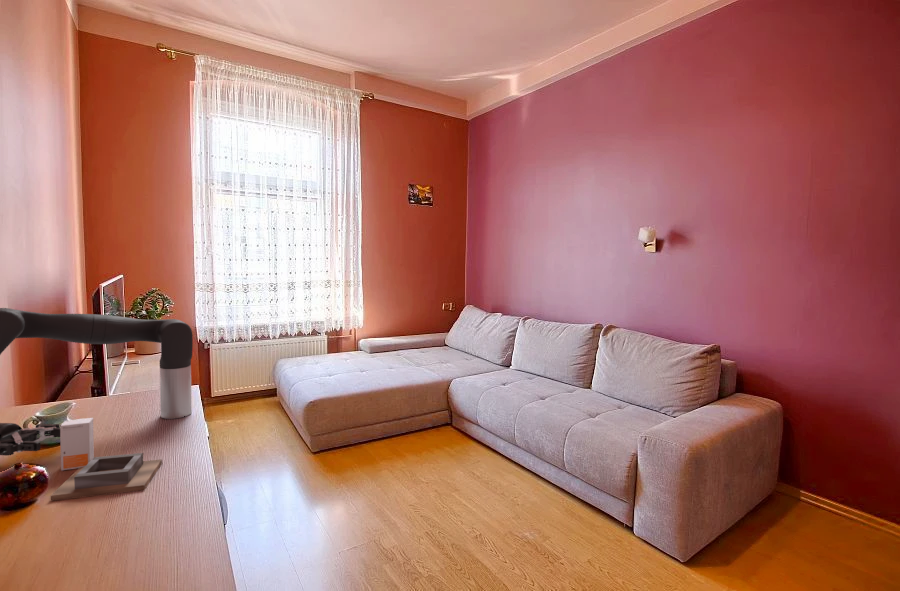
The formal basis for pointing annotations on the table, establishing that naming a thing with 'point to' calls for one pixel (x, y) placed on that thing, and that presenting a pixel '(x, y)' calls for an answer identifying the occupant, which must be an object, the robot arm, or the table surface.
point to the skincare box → (76, 443)
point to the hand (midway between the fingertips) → (54, 439)
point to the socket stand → (109, 476)
